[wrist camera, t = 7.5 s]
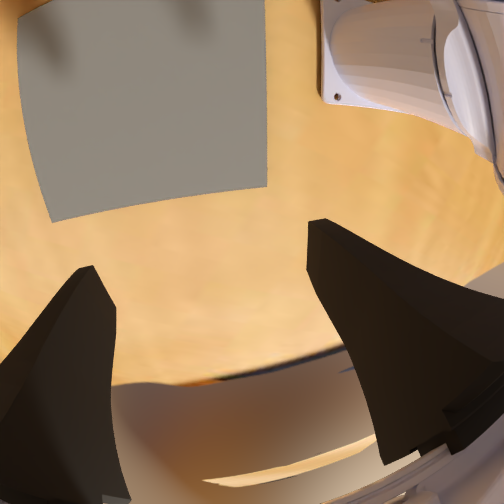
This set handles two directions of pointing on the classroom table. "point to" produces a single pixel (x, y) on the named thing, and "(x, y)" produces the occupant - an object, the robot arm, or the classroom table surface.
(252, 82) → the mat
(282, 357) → the classroom table surface
